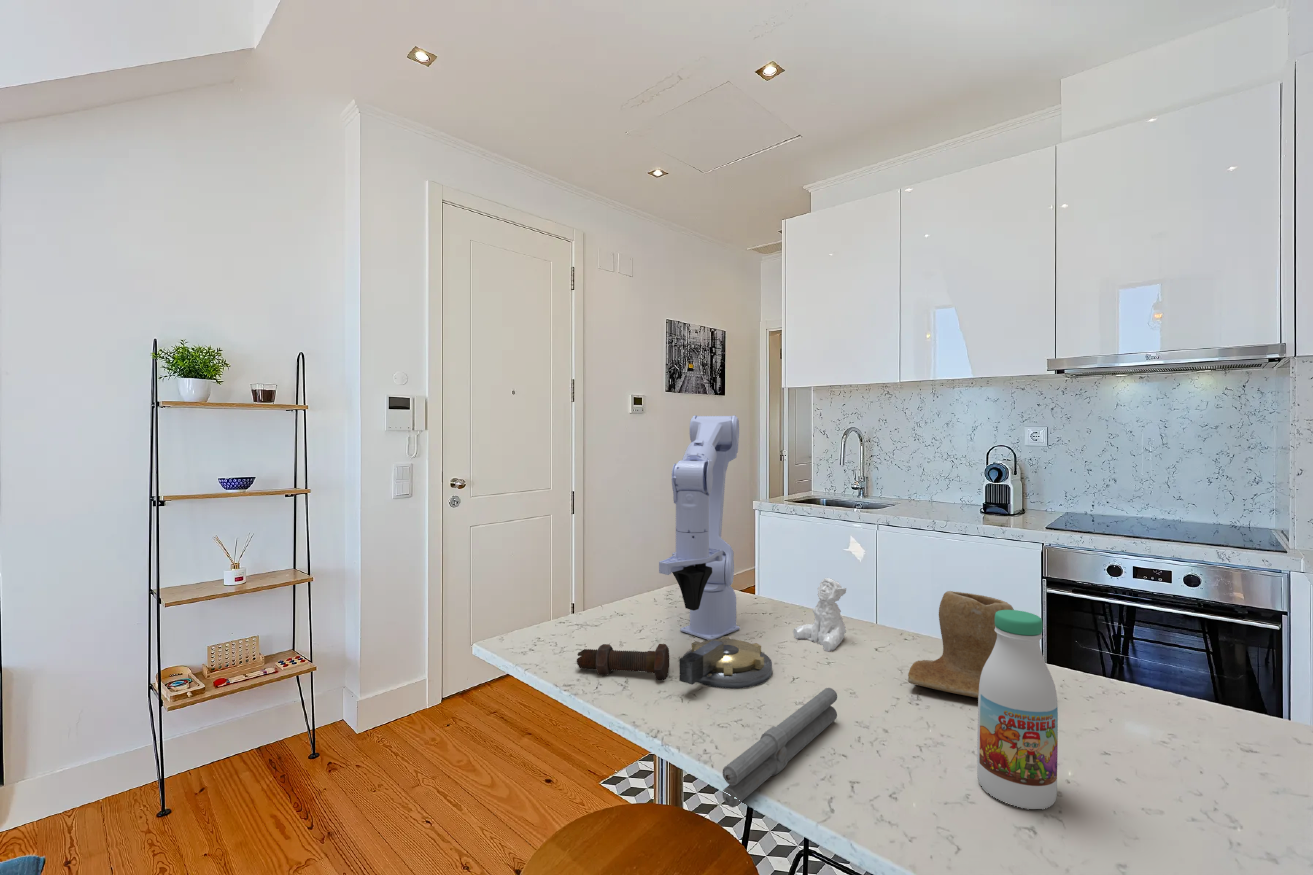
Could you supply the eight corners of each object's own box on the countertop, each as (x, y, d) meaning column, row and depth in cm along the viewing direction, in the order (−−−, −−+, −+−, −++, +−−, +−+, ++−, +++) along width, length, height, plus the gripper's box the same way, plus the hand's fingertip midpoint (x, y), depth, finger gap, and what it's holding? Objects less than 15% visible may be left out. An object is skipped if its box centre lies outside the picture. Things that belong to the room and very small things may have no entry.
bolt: (581, 678, 102) (668, 683, 99) (572, 674, 98) (662, 679, 95) (585, 643, 105) (670, 646, 102) (576, 637, 101) (665, 641, 98)
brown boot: (1018, 684, 96) (1019, 590, 96) (1022, 716, 85) (1023, 611, 85) (914, 666, 103) (915, 578, 103) (906, 693, 93) (908, 596, 92)
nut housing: (719, 645, 112) (719, 637, 112) (789, 668, 102) (789, 659, 102) (663, 669, 102) (663, 659, 102) (735, 697, 91) (735, 686, 91)
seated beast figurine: (790, 637, 117) (790, 575, 117) (821, 629, 122) (821, 570, 121) (828, 653, 109) (829, 587, 109) (860, 643, 114) (860, 580, 113)
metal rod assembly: (820, 718, 85) (821, 683, 85) (839, 724, 83) (840, 688, 83) (716, 806, 66) (716, 760, 65) (738, 817, 64) (738, 770, 64)
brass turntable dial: (710, 640, 110) (710, 618, 110) (777, 656, 103) (777, 633, 103) (650, 676, 95) (650, 650, 95) (724, 697, 87) (724, 670, 87)
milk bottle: (962, 772, 72) (965, 605, 71) (1024, 769, 72) (1026, 603, 72) (1005, 814, 64) (1008, 627, 63) (1074, 810, 65) (1077, 625, 64)
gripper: (701, 522, 112) (701, 595, 112) (645, 532, 102) (645, 612, 102) (732, 527, 107) (731, 603, 107) (676, 538, 97) (676, 622, 97)
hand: (692, 608), depth 104 cm, fingers closed
